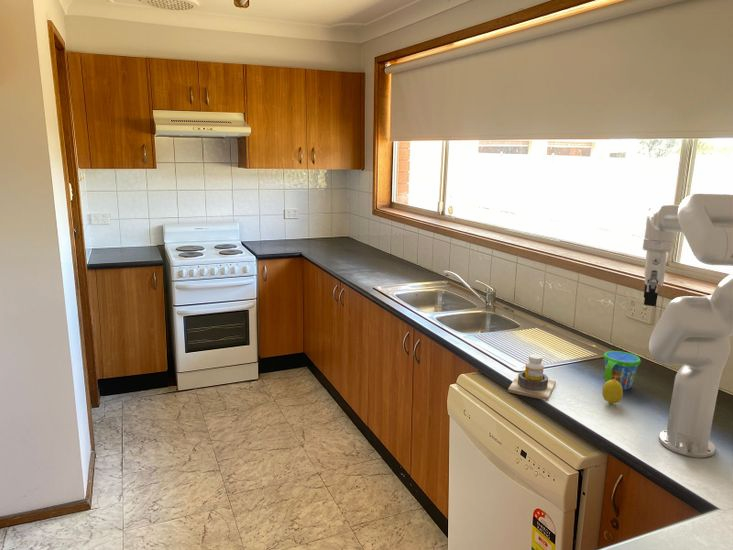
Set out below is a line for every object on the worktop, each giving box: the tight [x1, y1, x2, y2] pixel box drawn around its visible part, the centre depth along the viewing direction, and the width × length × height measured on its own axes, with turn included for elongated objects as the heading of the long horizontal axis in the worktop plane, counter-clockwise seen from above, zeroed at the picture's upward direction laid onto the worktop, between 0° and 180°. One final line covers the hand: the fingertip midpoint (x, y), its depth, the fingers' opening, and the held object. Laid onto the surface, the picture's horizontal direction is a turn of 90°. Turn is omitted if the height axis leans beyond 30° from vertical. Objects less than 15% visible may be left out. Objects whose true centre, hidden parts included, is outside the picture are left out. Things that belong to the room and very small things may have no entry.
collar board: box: [507, 370, 557, 401], centre depth 175 cm, size 14×12×4 cm
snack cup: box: [603, 350, 642, 391], centre depth 178 cm, size 16×10×10 cm
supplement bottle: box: [524, 353, 545, 380], centre depth 174 cm, size 5×5×10 cm
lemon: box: [601, 379, 624, 405], centre depth 165 cm, size 6×6×8 cm
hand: (649, 301), depth 167 cm, fingers open, 9 cm apart
